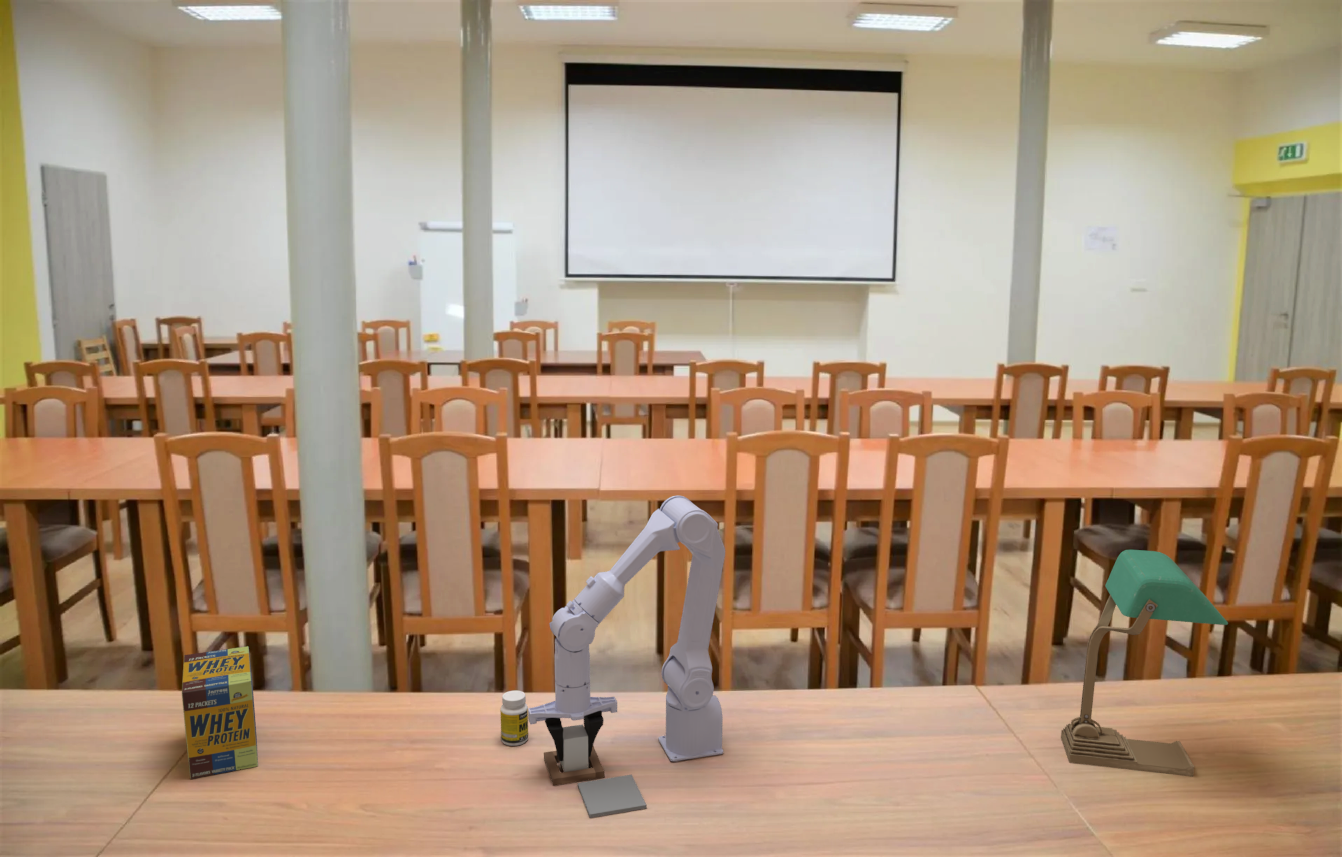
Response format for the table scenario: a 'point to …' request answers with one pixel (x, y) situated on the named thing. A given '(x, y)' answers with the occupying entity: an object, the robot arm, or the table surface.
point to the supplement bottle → (514, 718)
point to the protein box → (219, 712)
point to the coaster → (611, 796)
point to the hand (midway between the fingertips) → (573, 755)
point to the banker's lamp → (1142, 593)
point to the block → (575, 748)
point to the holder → (573, 776)
